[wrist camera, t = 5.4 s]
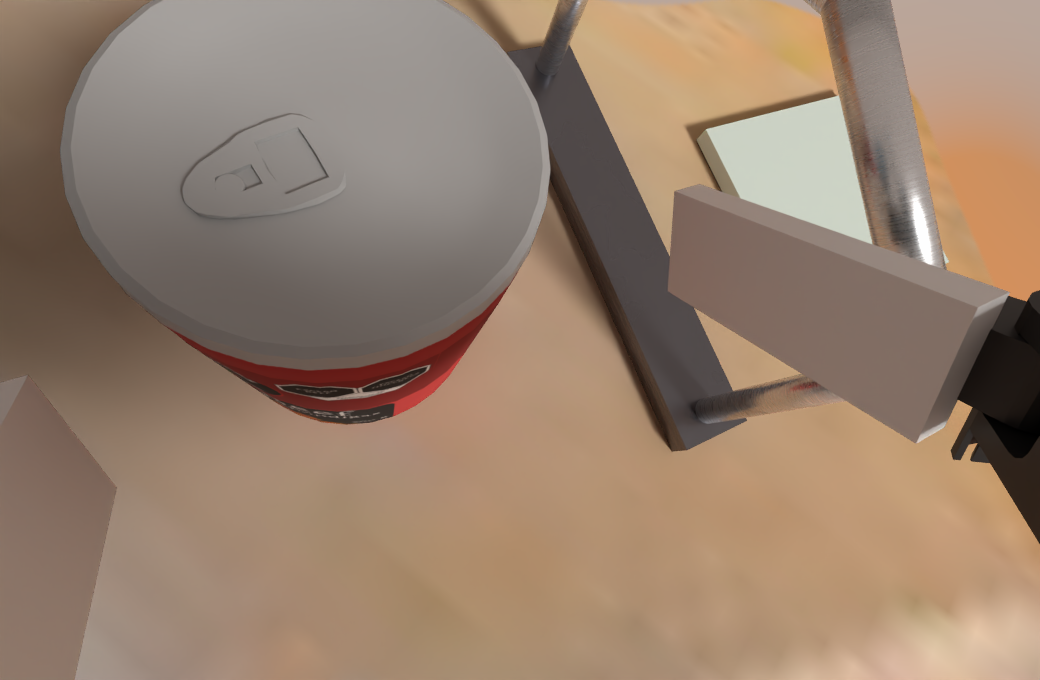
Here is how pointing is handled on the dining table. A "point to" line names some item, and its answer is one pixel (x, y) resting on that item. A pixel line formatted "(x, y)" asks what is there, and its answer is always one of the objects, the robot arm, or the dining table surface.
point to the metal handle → (637, 244)
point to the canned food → (310, 188)
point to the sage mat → (792, 165)
